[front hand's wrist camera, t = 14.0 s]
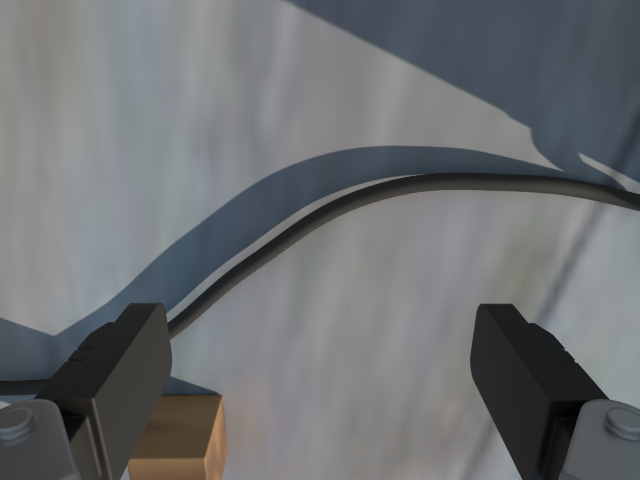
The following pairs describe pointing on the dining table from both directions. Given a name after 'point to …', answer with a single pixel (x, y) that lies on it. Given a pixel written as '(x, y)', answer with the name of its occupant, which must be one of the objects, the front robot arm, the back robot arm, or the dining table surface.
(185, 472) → the block
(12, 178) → the dining table surface
